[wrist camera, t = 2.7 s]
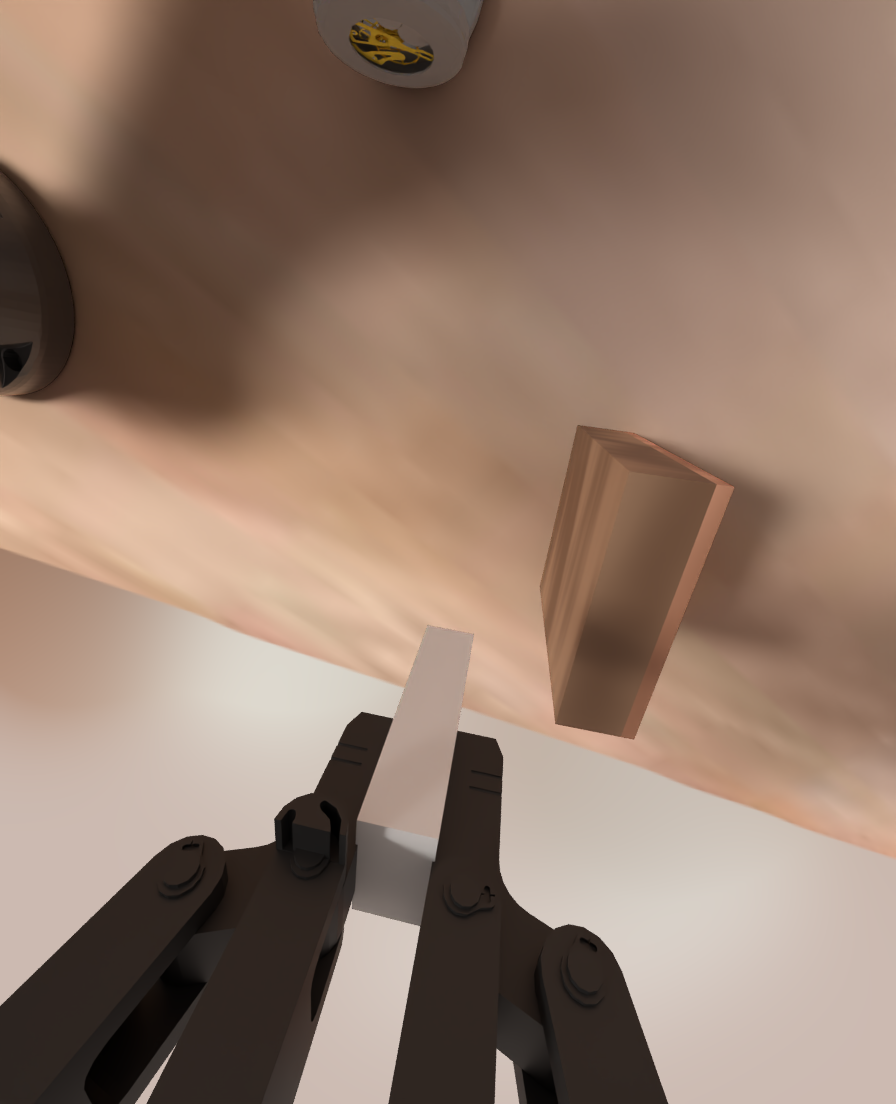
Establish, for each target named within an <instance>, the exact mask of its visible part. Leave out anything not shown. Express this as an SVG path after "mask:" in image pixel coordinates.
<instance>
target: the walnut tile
mask: <svg viewBox="0 0 896 1104" xmlns="http://www.w3.org/2000/svg"><path fill="white" fill-rule="evenodd" d="M734 488H735V487H734V486H732V485H730V484H728V483H726V482H724V481H722V480H721V479H719V478H717V477H715V476H713V475H711V474H709V473H708V472H706V471H704V470H702V469H700V468H698V467H696V466H694V465H693V464H691V463H689V462H687V461H685V460H683V459H681V458H680V457H678V456H676V455H674V454H672V453H670V452H668V451H667V450H665V449H663V448H661V447H659V446H657V445H655V444H653V443H652V442H650V441H648V440H646V439H644V438H642V437H640V436H639V435H637V434H635V433H630V432H623V431H616V430H608V429H601V428H594V427H587V426H580V425H578V426H577V431H576V435H575V439H574V443H573V448H572V452H571V456H570V461H569V465H568V469H567V473H566V478H565V482H564V486H563V490H562V495H561V499H560V503H559V507H558V512H557V516H556V520H555V525H554V529H553V533H552V537H551V542H550V546H549V550H548V554H547V559H546V563H545V567H544V572H543V576H542V580H541V584H540V591H541V600H542V609H543V618H544V627H545V636H546V644H547V653H548V662H549V671H550V680H551V689H552V697H553V706H554V715H555V724H558V725H563V726H568V727H573V728H578V729H583V730H588V731H593V732H599V733H604V734H609V735H614V736H619V737H624V738H629V739H634V738H635V736H636V733H637V731H638V728H639V726H640V723H641V721H642V718H643V716H644V713H645V711H646V708H647V706H648V703H649V701H650V698H651V696H652V693H653V691H654V688H655V686H656V683H657V681H658V678H659V676H660V673H661V671H662V668H663V666H664V663H665V661H666V658H667V656H668V653H669V650H670V648H671V645H672V643H673V640H674V638H675V635H676V633H677V630H678V628H679V625H680V623H681V620H682V618H683V615H684V613H685V610H686V608H687V605H688V603H689V600H690V598H691V595H692V593H693V590H694V588H695V585H696V583H697V580H698V578H699V575H700V573H701V570H702V568H703V565H704V563H705V560H706V558H707V555H708V553H709V550H710V548H711V545H712V543H713V540H714V538H715V535H716V533H717V530H718V528H719V525H720V523H721V520H722V518H723V515H724V513H725V510H726V508H727V505H728V503H729V500H730V498H731V495H732V493H733V490H734Z"/></svg>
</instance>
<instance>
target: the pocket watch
mask: <svg viewBox="0 0 896 1104" xmlns="http://www.w3.org/2000/svg"><path fill="white" fill-rule="evenodd" d="M482 4H483V0H313V9H314V13H315V17H316V24H317V27H318V31H319V34H320V36H321V37H322V39H323V41H324V42H325V44H326V45H327V47H328V48H329V49H330V51H331V52H332V53H333V54H334V55H335V56H336V57H337V58H339V59H340V60H341V61H342V62H343V63H344V64H346V65H347V66H349V67H350V68H352V69H353V70H355V71H357V72H358V73H360V74H362V75H364V76H366V77H369V78H371V79H374V80H377V81H379V82H382V83H385V84H389V85H393V86H398V87H406V88H427V87H433V86H438V85H440V84H443V83H445V82H448V81H449V80H450V79H452V78H453V77H455V76H456V74H457V73H458V72H459V70H460V69H461V68H462V65H463V61H464V58H465V55H466V52H467V49H468V41H469V38H470V36H471V34H472V32H473V30H474V28H475V25H476V23H477V21H478V18H479V14H480V11H481V7H482Z"/></svg>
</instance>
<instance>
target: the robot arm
mask: <svg viewBox="0 0 896 1104" xmlns="http://www.w3.org/2000/svg"><path fill="white" fill-rule="evenodd" d="M73 334H74V308H73V300H72V294H71V289H70V285H69V281H68V277H67V274H66V270H65V268H64V265H63V262H62V259H61V257H60V254H59V252H58V250H57V247H56V245H55V243H54V241H53V239H52V237H51V235H50V233H49V231H48V230H47V228H46V226H45V224H44V223H43V221H42V220H41V218H40V216H39V215H38V213H37V212H36V210H35V209H34V208H33V206H32V205H31V203H30V202H29V201H28V200H27V198H26V197H25V196H24V195H23V193H22V192H21V191H20V190H19V189H18V188H17V187H16V185H15V184H14V183H13V182H12V181H11V180H10V179H9V178H8V177H7V176H5V175H4V174H3V173H2V172H1V171H0V396H7V395H23V394H29V393H32V392H35V391H38V390H40V389H42V388H44V387H45V386H47V385H48V384H50V383H51V382H52V381H53V380H54V379H55V378H56V377H57V376H58V375H59V373H60V372H61V370H62V369H63V367H64V365H65V363H66V361H67V359H68V356H69V353H70V350H71V346H72V341H73ZM473 637H474V634H471V633H466V632H461V631H456V630H450V629H445V628H440V627H434V626H429V625H427V628H426V631H425V634H424V636H423V639H422V642H421V645H420V647H419V650H418V653H417V656H416V658H415V661H414V664H413V667H412V669H411V672H410V675H409V678H408V680H407V683H406V686H405V689H404V692H403V694H402V697H401V700H400V702H399V705H398V708H397V711H396V713H395V716H394V719H393V718H388V717H384V716H378V715H374V714H369V713H364V712H361V713H360V714H359V715H358V716H357V717H356V718H354V719H353V720H352V721H351V722H350V723H349V724H348V725H347V726H346V728H345V730H344V732H343V734H342V736H341V738H340V741H339V743H338V746H336V749H335V751H334V753H333V755H332V757H331V760H330V761H329V763H328V765H327V767H326V769H325V771H324V773H323V775H322V777H321V779H320V781H319V784H318V785H317V788H316V789H315V792H314V793H310V794H307V795H304V796H301V797H297V798H296V799H294V800H293V801H291V802H290V803H288V804H287V805H285V806H284V807H283V808H282V810H281V811H280V812H279V814H278V815H277V816H276V817H275V819H274V821H275V838H276V841H275V842H273V843H270V844H268V845H264V846H259V847H254V848H246V849H237V850H228V851H224V849H223V847H222V846H221V845H220V844H219V842H218V841H217V840H216V839H214V838H211V837H207V836H204V835H198V836H190V837H185V838H183V839H181V840H178V841H176V842H174V843H171V844H170V845H169V846H167V847H166V848H164V849H163V850H162V851H161V852H159V853H158V854H157V855H155V856H154V857H153V858H152V859H151V860H150V861H149V862H148V863H147V864H146V865H145V866H144V867H143V868H142V869H141V870H140V871H139V872H138V873H137V874H136V875H135V876H134V877H133V878H132V879H131V880H130V881H129V882H128V883H126V885H125V886H123V887H122V889H120V890H119V891H118V892H117V893H116V894H115V895H114V896H113V897H112V898H111V899H110V900H109V901H108V902H107V903H106V904H105V905H104V906H103V907H102V908H101V909H100V910H99V911H98V912H97V913H96V914H95V915H94V916H93V917H91V918H90V919H89V920H88V921H87V923H85V924H84V925H83V926H82V927H81V928H80V929H79V930H78V931H77V932H76V933H75V934H74V935H73V936H72V937H71V938H70V939H69V940H68V941H67V942H66V943H65V944H64V945H63V946H62V947H61V948H60V949H59V950H58V951H57V952H56V953H55V954H53V955H52V956H51V957H50V958H49V959H48V960H47V961H46V962H45V963H44V964H43V965H42V966H41V967H40V968H39V969H38V970H37V971H36V972H35V973H34V974H33V975H32V976H31V977H30V978H29V979H28V980H27V981H26V982H25V983H24V984H23V985H22V986H20V987H19V988H18V989H17V990H16V991H15V992H14V993H13V994H12V995H11V996H10V997H9V998H8V999H7V1000H6V1001H5V1002H4V1003H3V1004H2V1005H1V1006H0V1104H135V1103H136V1101H137V1100H138V1098H139V1097H140V1095H141V1094H142V1093H143V1091H144V1090H145V1088H146V1087H147V1085H148V1084H149V1082H150V1081H151V1079H152V1078H153V1077H154V1075H155V1074H156V1073H157V1071H158V1070H159V1068H160V1066H161V1065H162V1064H163V1062H164V1061H165V1060H166V1058H167V1057H168V1055H169V1054H170V1052H171V1051H172V1050H173V1048H174V1047H175V1045H176V1044H177V1045H176V1047H175V1049H174V1051H173V1053H172V1055H171V1057H170V1058H169V1060H168V1062H167V1064H166V1066H165V1069H164V1070H163V1072H162V1074H161V1076H160V1079H159V1080H158V1082H157V1084H156V1086H155V1088H154V1090H153V1092H152V1094H151V1096H150V1098H149V1100H148V1102H147V1104H293V1102H294V1099H295V1096H296V1092H297V1089H298V1086H299V1083H300V1079H301V1076H302V1073H303V1069H304V1066H305V1063H306V1060H307V1057H308V1053H309V1050H310V1047H311V1044H312V1040H313V1037H314V1034H315V1030H316V1027H317V1024H318V1021H319V1017H320V1014H321V1011H322V1008H323V1005H324V1001H325V998H326V995H327V991H328V988H329V985H330V982H331V978H332V975H333V972H334V969H335V966H336V962H337V959H338V956H339V952H340V949H341V946H342V940H343V933H344V924H345V921H346V918H347V914H348V911H349V908H350V905H351V901H352V909H355V910H359V911H363V912H367V913H371V914H375V915H379V916H383V917H386V918H390V919H394V920H399V921H402V922H406V923H410V924H414V925H418V926H420V932H419V937H418V943H417V948H416V954H415V960H414V965H413V971H412V976H411V982H410V987H409V993H408V998H407V1004H406V1010H405V1015H404V1021H403V1027H402V1032H401V1037H400V1043H399V1048H398V1054H397V1060H396V1065H395V1070H394V1076H393V1082H392V1087H391V1092H390V1098H389V1104H494V1103H495V1073H496V1048H497V1049H498V1050H499V1051H501V1052H502V1053H503V1054H504V1055H506V1056H507V1057H508V1058H509V1059H510V1060H512V1061H513V1064H514V1070H515V1077H516V1084H517V1090H518V1097H519V1104H668V1102H667V1099H666V1096H665V1093H664V1090H663V1088H662V1085H661V1082H660V1079H659V1076H658V1073H657V1070H656V1068H655V1065H654V1062H653V1059H652V1056H651V1053H650V1051H649V1048H648V1045H647V1042H646V1039H645V1036H644V1033H643V1030H642V1028H641V1025H640V1022H639V1019H638V1016H637V1013H636V1010H635V1008H634V1005H633V1002H632V999H631V996H630V993H629V991H628V987H627V985H626V982H625V979H624V976H623V973H622V971H621V969H620V967H619V965H618V963H617V961H616V959H615V957H614V955H613V953H612V952H611V950H610V949H609V948H608V947H607V946H606V945H605V944H604V942H603V941H602V940H601V939H600V938H599V937H598V936H596V935H595V934H593V933H592V932H590V931H589V930H587V929H586V928H584V927H580V926H575V925H569V924H568V925H565V926H561V927H558V928H555V929H552V928H551V927H549V926H547V925H546V924H544V923H543V922H541V921H540V920H538V919H537V918H535V917H534V916H532V915H530V914H529V913H528V912H527V911H525V910H524V909H523V908H522V907H520V906H519V905H518V904H517V903H516V901H515V900H514V899H513V898H512V896H511V895H510V894H509V892H508V890H507V888H506V886H505V885H504V883H503V880H502V876H501V873H500V866H499V847H500V823H501V799H502V797H501V794H502V775H503V774H502V773H503V755H502V753H501V751H500V748H499V746H498V743H497V741H496V739H493V738H489V737H484V736H480V735H475V734H470V733H465V732H460V731H457V729H458V724H459V718H460V712H461V706H462V700H463V695H464V689H465V683H466V677H467V672H468V666H469V660H470V654H471V648H472V643H473Z"/></svg>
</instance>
